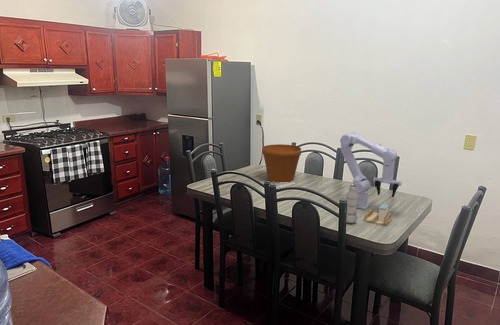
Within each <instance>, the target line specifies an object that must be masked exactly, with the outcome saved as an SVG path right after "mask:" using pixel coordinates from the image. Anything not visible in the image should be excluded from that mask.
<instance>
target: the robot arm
mask: <svg viewBox="0 0 500 325" xmlns="http://www.w3.org/2000/svg"><path fill="white" fill-rule="evenodd" d="M339 142H340V151H341V152H340V153H341V154H342V156H343V158H344V160H345V163H346V165H347V166H348V170H349V171H350V173H351V176H352V185H355V186H357V190H356V192H357V193H358V195H359V198H358V202H357V209H363V210H366V209H368V207H369V206H370V204H368V199H369V198H368V197H369V189H370V188H371V185H372V184H371V181H369V180H368V179H367V176H365V175H364V174H363V173H362V171H361V168H360V166H359V164H358V162H357V160H356V158H355V155H354V154H353V151H352V149H353V147H354V145H355V144H359V145H361V146H363V147H365V148H367V149H370V151H371V153H372V154H374V155H376V156H377V157H380V158H382V160H383V164H382V175H381V177H375V176H374V177H373V182H374V186H375V188H376V192H377V196H379V195H380V194H381V185H382V183H383V184H390V185H392V194H391V198H394V197H395V195H396V192H397V190H398V188H399V187H401V186H402V181H400V180H396V179H394V174H395V166H396V165H395V164H396V162H395V161H396V159H397V158H398V154H397V152H396V151H395V150H394V149H390V148H388V147H385V146H382V143H373V142H371V141H369V140H368V139H366V138H364V137H362V136H361V135H360V134H358V133H356V132H350V133H344V134H342V136H341V138H340V139H339Z"/></svg>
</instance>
